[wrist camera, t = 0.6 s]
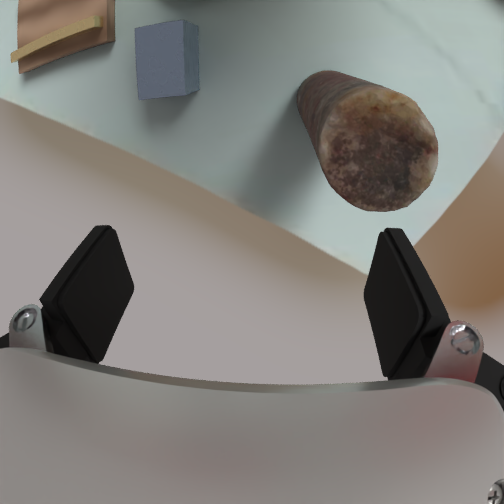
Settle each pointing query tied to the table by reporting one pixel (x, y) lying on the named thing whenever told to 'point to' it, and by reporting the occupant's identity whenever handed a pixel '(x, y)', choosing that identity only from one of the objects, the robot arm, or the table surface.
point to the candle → (368, 140)
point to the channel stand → (60, 29)
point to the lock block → (167, 59)
